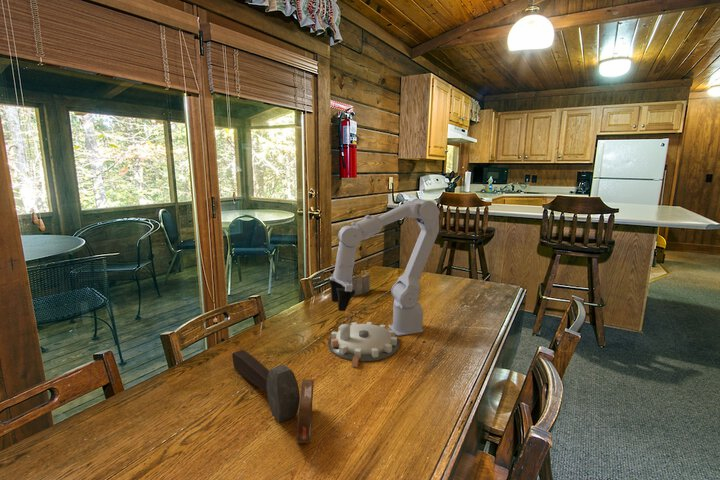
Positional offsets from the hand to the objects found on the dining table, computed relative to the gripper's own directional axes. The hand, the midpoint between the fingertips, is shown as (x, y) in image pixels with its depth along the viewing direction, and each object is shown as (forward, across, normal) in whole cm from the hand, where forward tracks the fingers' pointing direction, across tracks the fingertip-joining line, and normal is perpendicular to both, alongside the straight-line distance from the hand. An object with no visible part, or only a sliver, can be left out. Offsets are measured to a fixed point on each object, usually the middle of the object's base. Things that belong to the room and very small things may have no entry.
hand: (338, 305), depth 117 cm
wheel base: (+9, +7, +8) cm, 14 cm away
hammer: (+15, +22, -24) cm, 35 cm away
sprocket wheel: (+9, +7, +8) cm, 14 cm away
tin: (+13, +38, -16) cm, 43 cm away
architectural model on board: (+9, -37, +21) cm, 43 cm away
